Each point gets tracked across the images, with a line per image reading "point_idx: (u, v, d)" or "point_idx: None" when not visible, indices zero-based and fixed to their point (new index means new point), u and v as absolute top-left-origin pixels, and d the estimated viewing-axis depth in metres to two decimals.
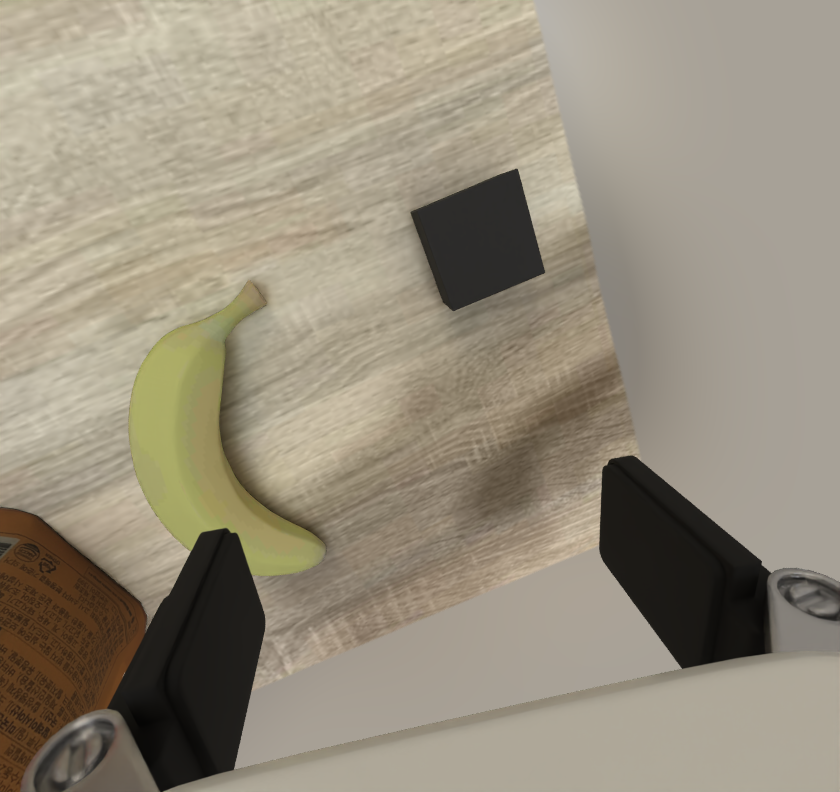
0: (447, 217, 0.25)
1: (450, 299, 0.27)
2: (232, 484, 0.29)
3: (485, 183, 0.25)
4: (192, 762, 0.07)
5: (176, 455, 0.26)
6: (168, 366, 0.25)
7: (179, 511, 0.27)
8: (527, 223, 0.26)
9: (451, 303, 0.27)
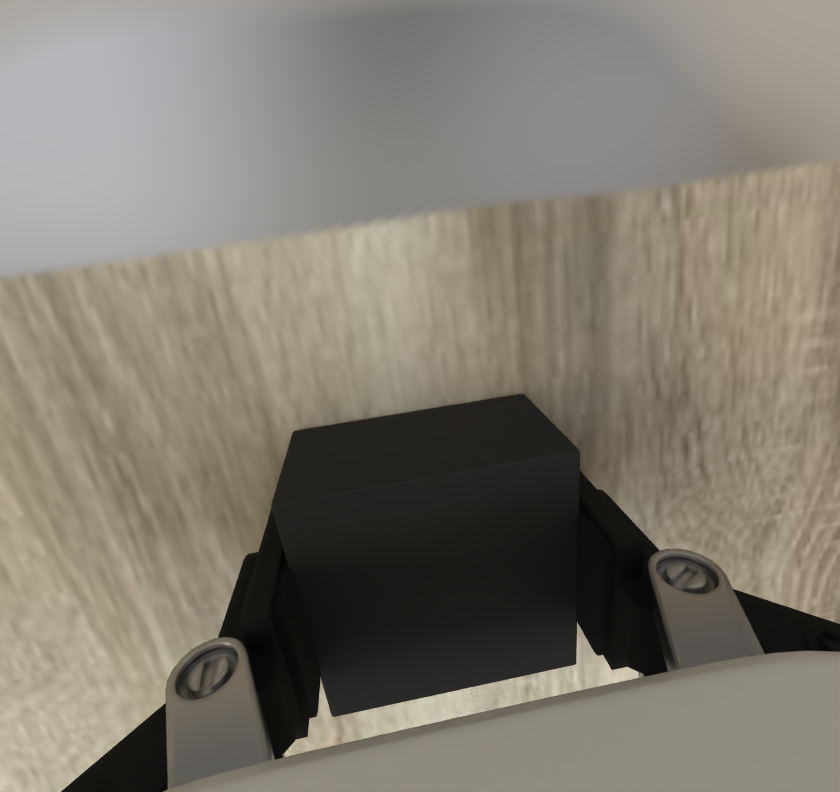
0: (360, 666, 0.10)
1: (548, 669, 0.11)
2: None
3: (297, 584, 0.09)
4: (292, 690, 0.08)
5: None
6: None
7: None
8: (427, 489, 0.09)
9: (558, 667, 0.11)
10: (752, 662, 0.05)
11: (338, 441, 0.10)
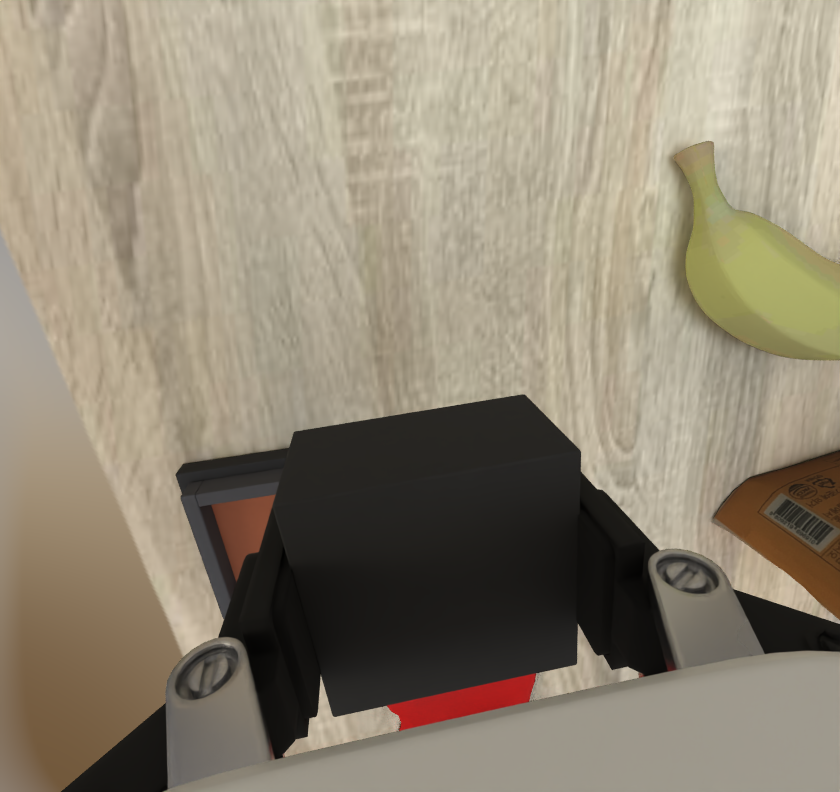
0: (361, 667, 0.10)
1: (549, 669, 0.11)
2: None
3: (298, 584, 0.09)
4: (292, 690, 0.08)
5: None
6: (756, 263, 0.22)
7: None
8: (428, 490, 0.09)
9: (558, 667, 0.11)
10: (752, 662, 0.05)
11: (339, 441, 0.10)
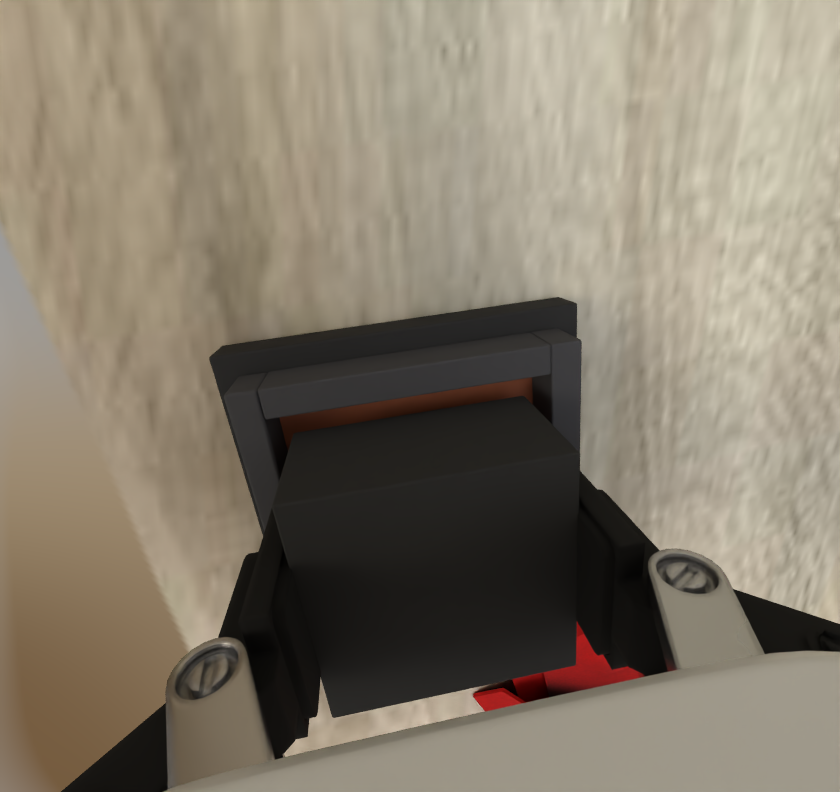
0: (360, 667, 0.10)
1: (548, 670, 0.11)
2: None
3: (297, 585, 0.09)
4: (292, 690, 0.08)
5: None
6: None
7: None
8: (428, 491, 0.09)
9: (557, 668, 0.11)
10: (752, 662, 0.05)
11: (338, 443, 0.10)
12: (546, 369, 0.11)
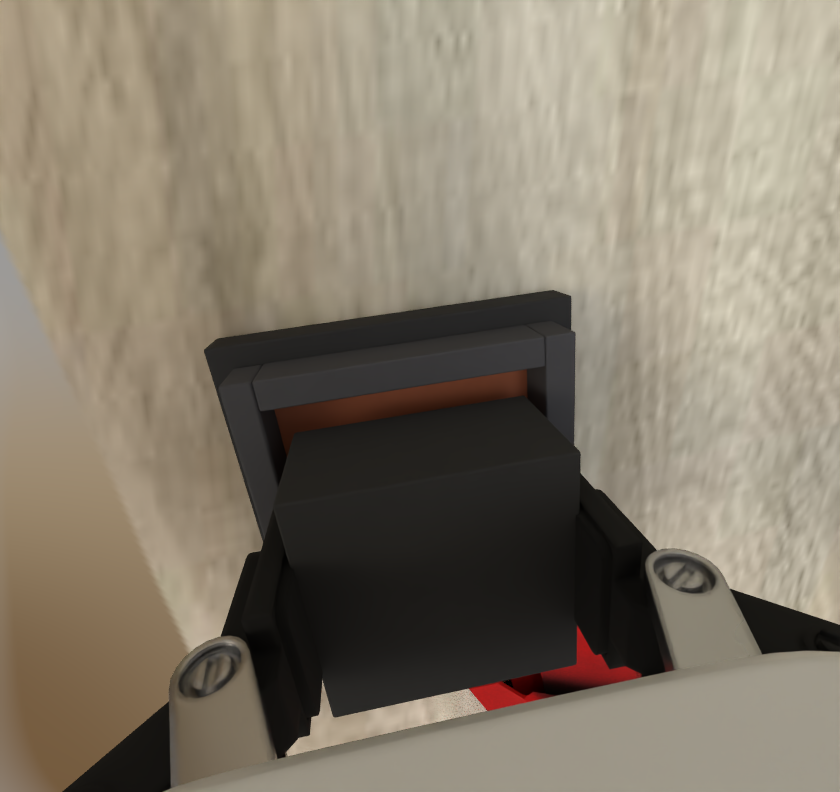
0: (361, 667, 0.10)
1: (548, 669, 0.11)
2: None
3: (298, 585, 0.09)
4: (294, 689, 0.08)
5: None
6: None
7: None
8: (428, 491, 0.09)
9: (558, 667, 0.11)
10: (752, 662, 0.05)
11: (339, 442, 0.10)
12: (540, 361, 0.11)
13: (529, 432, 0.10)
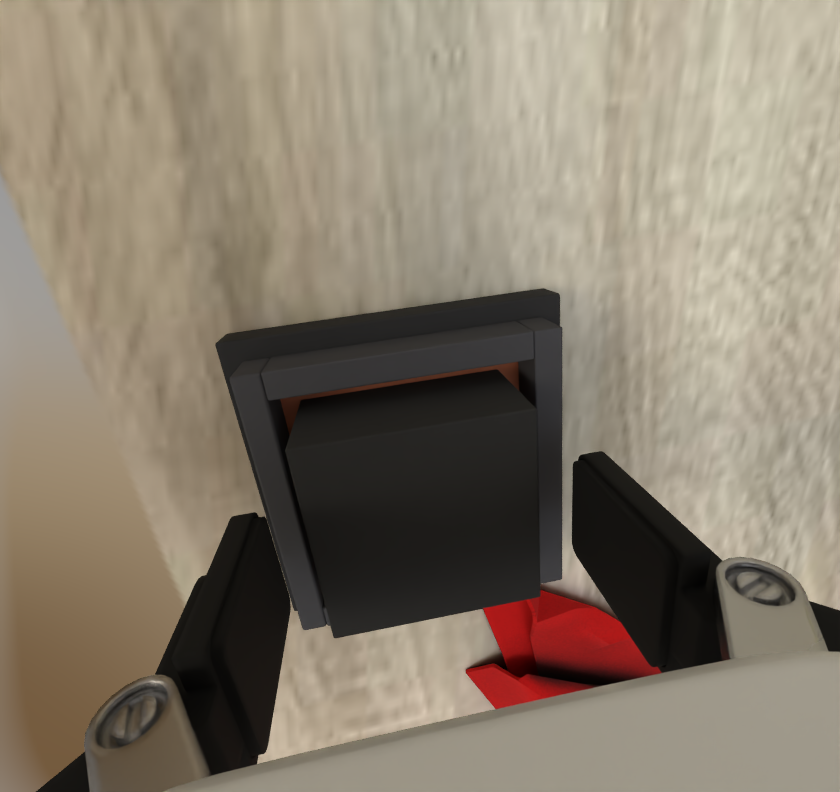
0: (357, 593, 0.12)
1: (516, 600, 0.13)
2: None
3: (305, 518, 0.11)
4: (234, 728, 0.08)
5: None
6: None
7: None
8: (412, 439, 0.11)
9: (525, 598, 0.13)
10: (752, 662, 0.05)
11: (339, 406, 0.12)
12: (529, 354, 0.12)
13: (497, 395, 0.12)
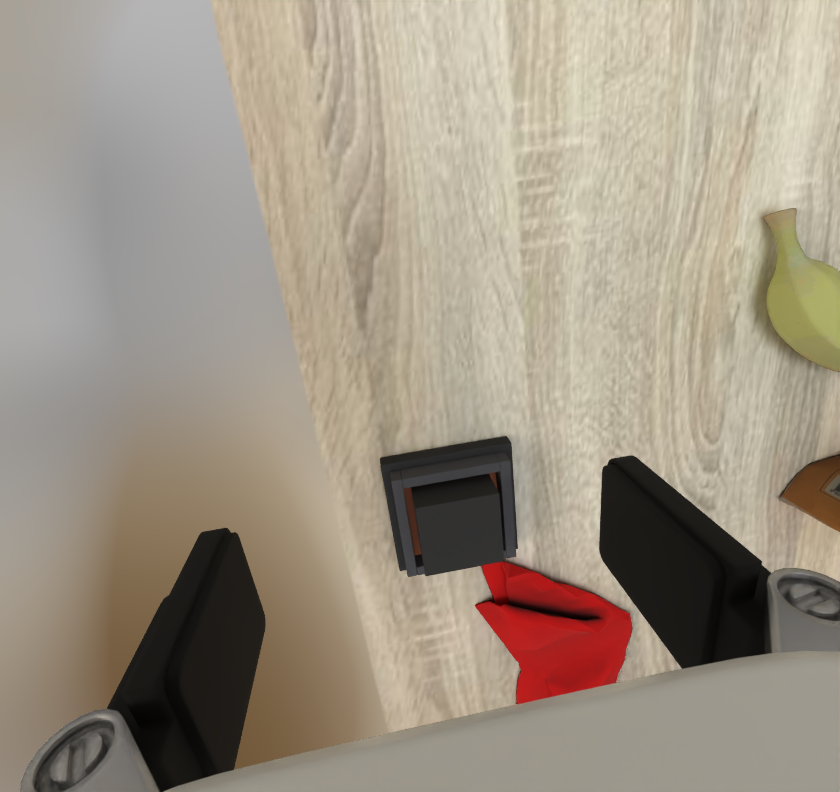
0: (435, 558, 0.33)
1: (494, 562, 0.33)
2: None
3: (419, 531, 0.32)
4: (193, 762, 0.07)
5: None
6: (827, 299, 0.29)
7: None
8: (456, 504, 0.31)
9: (498, 561, 0.33)
10: (752, 662, 0.05)
11: (427, 488, 0.33)
12: (498, 469, 0.33)
13: (486, 486, 0.32)
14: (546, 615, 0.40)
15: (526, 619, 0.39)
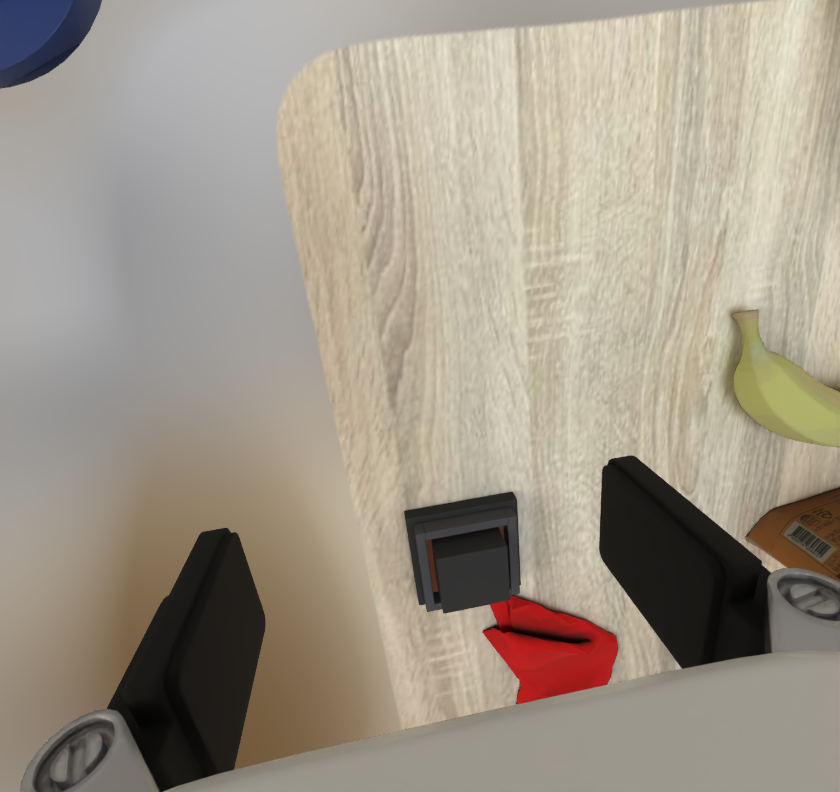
0: (452, 599, 0.38)
1: (502, 601, 0.39)
2: None
3: (439, 577, 0.37)
4: (192, 762, 0.07)
5: (836, 414, 0.36)
6: (781, 388, 0.35)
7: None
8: (471, 555, 0.37)
9: (505, 600, 0.39)
10: (752, 662, 0.05)
11: (445, 539, 0.39)
12: (506, 523, 0.39)
13: (496, 538, 0.38)
14: (544, 640, 0.46)
15: (527, 644, 0.45)
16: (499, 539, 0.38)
